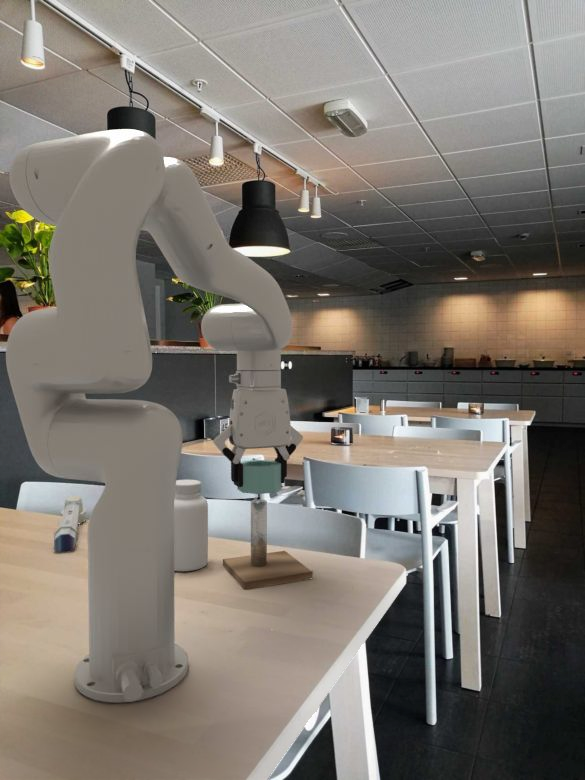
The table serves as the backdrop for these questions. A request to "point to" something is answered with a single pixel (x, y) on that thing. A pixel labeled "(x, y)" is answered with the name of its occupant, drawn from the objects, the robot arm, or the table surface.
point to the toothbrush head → (69, 524)
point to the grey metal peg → (258, 533)
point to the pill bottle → (190, 526)
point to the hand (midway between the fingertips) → (259, 482)
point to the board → (267, 570)
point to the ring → (261, 477)
